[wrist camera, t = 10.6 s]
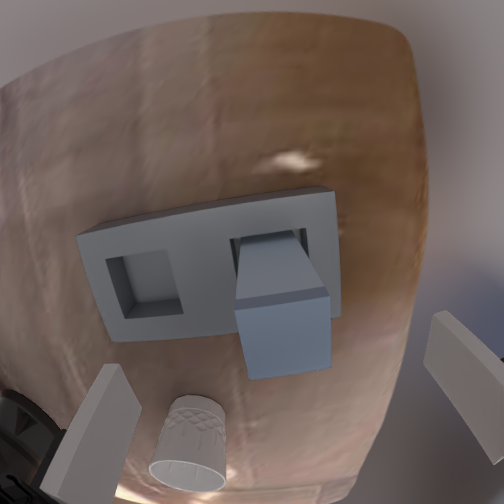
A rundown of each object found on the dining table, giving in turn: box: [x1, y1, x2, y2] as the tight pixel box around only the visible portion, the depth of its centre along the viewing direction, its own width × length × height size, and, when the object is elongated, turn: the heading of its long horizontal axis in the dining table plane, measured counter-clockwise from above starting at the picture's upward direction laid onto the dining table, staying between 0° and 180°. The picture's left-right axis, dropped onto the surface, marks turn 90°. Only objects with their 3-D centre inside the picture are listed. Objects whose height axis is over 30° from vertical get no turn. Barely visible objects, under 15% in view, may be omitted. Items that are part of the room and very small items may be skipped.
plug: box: [234, 230, 331, 380], centre depth 18 cm, size 4×4×12 cm
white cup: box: [149, 395, 226, 493], centre depth 26 cm, size 8×8×10 cm
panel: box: [75, 186, 341, 342], centre depth 23 cm, size 20×10×4 cm, turn 99°
